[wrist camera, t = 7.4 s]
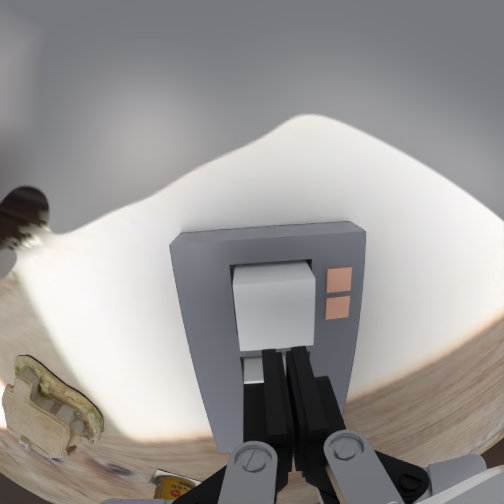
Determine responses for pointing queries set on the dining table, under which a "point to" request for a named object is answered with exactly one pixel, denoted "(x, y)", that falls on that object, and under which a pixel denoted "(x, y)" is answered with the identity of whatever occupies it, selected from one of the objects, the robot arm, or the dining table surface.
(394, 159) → the dining table surface
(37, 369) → the ceramic model
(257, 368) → the key
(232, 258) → the keypad
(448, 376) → the dining table surface
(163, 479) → the condiment
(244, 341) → the key
